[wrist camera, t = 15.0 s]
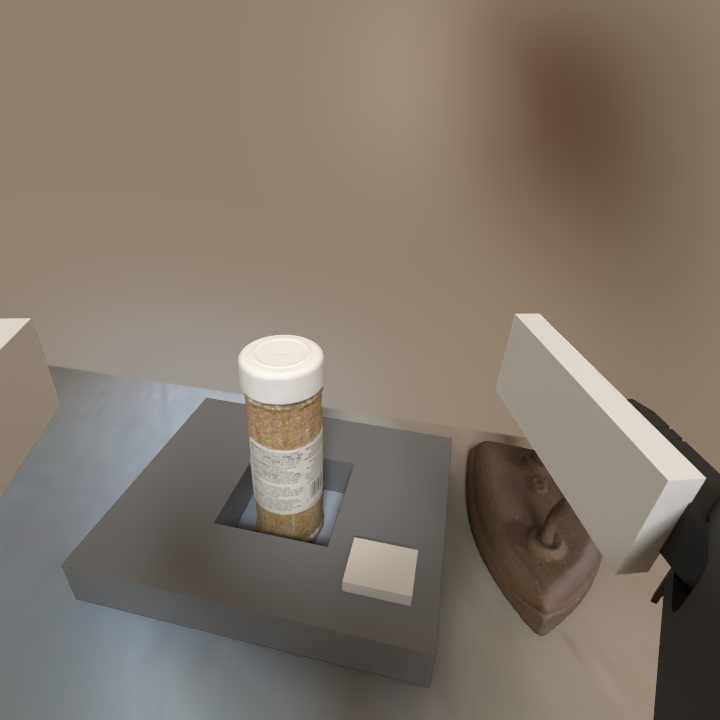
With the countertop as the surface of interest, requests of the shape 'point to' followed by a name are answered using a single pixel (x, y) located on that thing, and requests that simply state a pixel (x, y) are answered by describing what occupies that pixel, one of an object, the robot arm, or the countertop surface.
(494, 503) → the clothes iron
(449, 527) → the countertop surface
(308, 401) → the sprinkles bottle
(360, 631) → the socket plate
